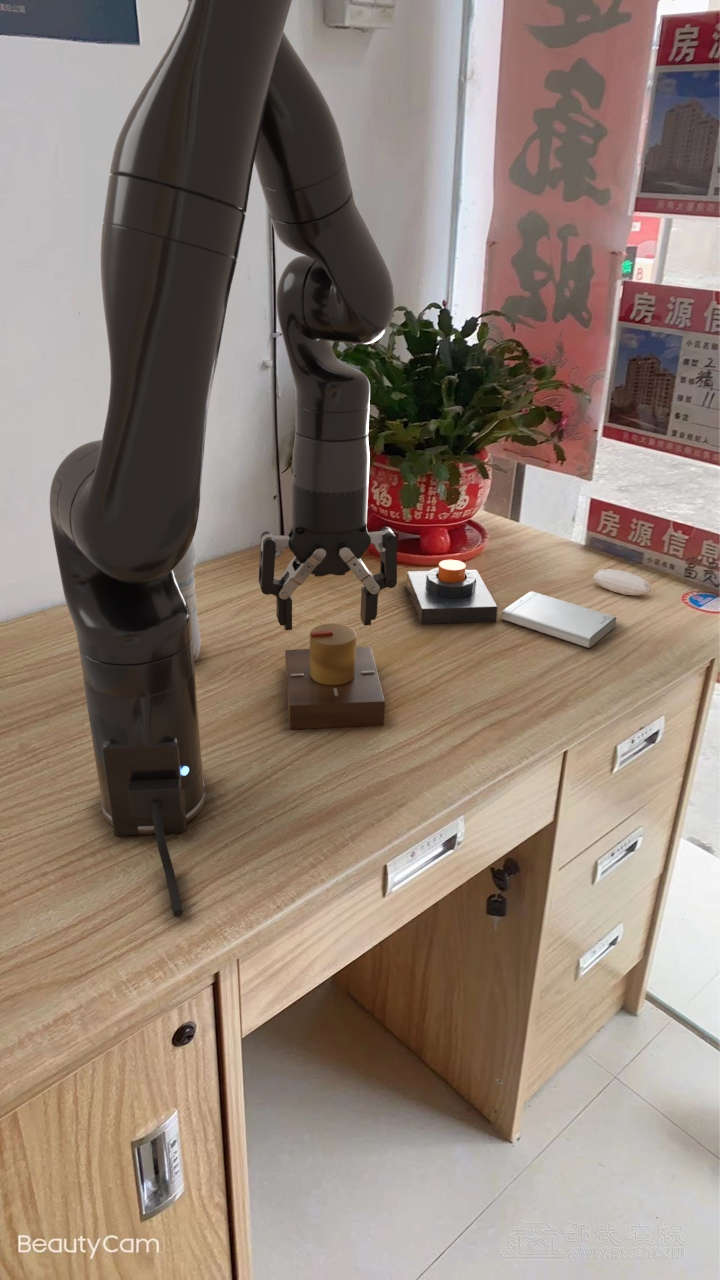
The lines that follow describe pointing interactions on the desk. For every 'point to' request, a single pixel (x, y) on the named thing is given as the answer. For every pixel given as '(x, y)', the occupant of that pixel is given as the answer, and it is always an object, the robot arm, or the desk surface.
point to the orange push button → (451, 571)
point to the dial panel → (333, 694)
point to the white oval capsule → (622, 582)
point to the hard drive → (559, 618)
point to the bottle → (189, 593)
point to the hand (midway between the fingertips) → (326, 624)
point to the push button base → (450, 598)
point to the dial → (332, 654)
